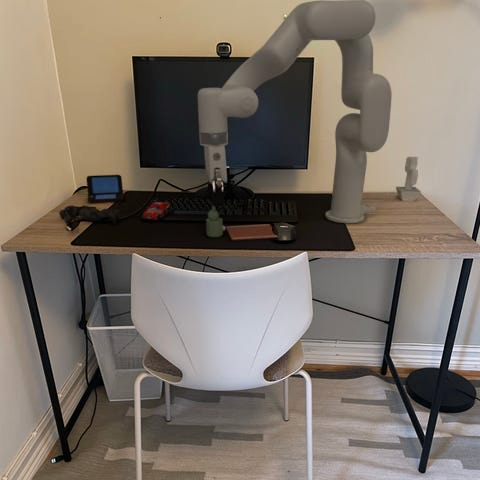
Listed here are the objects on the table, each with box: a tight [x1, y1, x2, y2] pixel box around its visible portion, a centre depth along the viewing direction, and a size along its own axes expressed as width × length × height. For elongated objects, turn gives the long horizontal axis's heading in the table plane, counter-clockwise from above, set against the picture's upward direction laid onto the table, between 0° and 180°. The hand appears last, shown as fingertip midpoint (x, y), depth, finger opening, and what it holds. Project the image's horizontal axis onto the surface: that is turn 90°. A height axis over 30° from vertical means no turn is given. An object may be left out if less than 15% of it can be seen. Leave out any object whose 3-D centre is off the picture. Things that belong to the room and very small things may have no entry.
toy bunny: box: [205, 204, 227, 238], centre depth 142 cm, size 6×5×9 cm
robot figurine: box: [58, 204, 122, 227], centre depth 154 cm, size 18×4×20 cm
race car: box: [142, 201, 171, 221], centre depth 159 cm, size 13×5×4 cm, turn 161°
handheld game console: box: [86, 174, 125, 204], centre depth 176 cm, size 12×11×7 cm
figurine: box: [395, 156, 422, 202], centre depth 176 cm, size 7×9×15 cm
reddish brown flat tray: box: [224, 223, 280, 241], centre depth 146 cm, size 14×12×1 cm
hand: (216, 201), depth 140 cm, fingers open, 9 cm apart
